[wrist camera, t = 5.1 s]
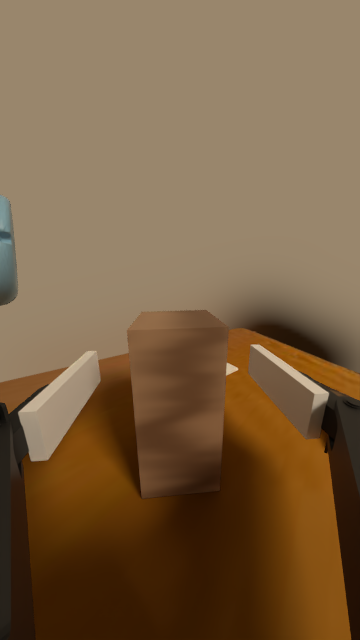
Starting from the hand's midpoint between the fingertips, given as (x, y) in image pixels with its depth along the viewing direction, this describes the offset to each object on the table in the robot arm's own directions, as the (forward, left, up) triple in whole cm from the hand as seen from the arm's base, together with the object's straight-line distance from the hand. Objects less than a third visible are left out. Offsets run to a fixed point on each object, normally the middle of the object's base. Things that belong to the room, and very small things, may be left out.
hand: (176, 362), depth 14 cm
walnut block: (+2, -1, -7) cm, 7 cm away
